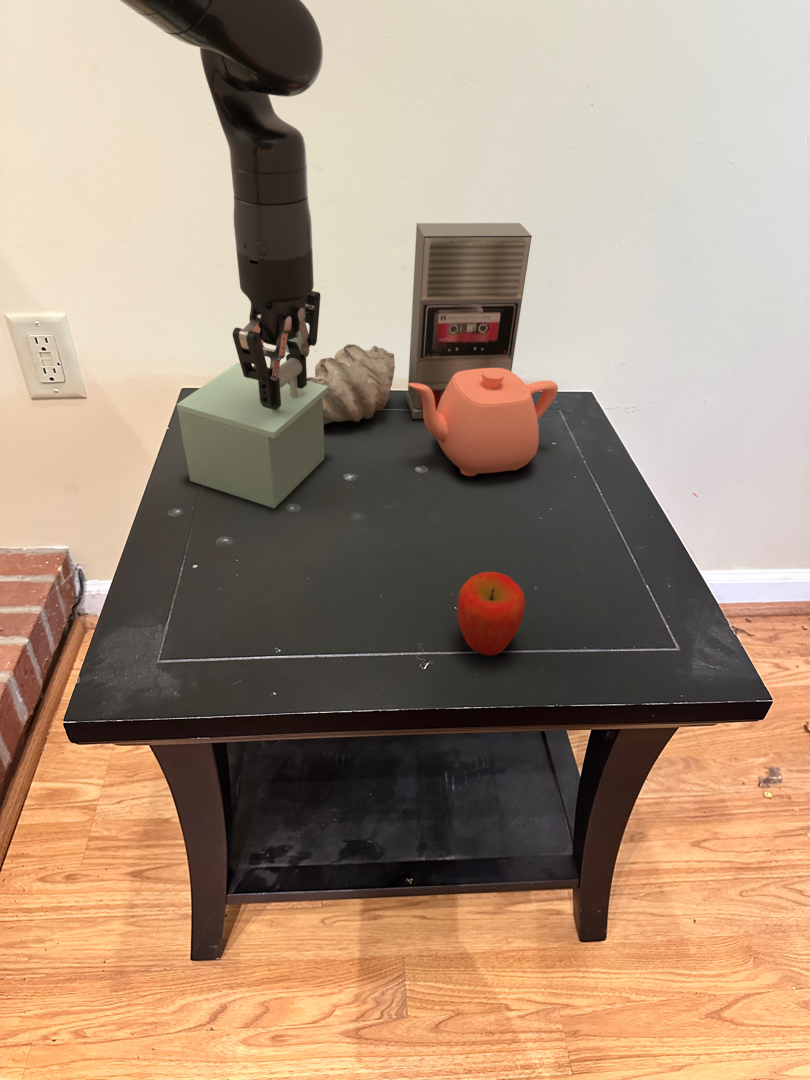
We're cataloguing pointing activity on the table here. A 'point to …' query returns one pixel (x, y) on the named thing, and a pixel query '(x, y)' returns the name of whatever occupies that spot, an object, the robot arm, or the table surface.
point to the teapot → (486, 419)
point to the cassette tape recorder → (464, 301)
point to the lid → (253, 400)
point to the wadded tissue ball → (355, 382)
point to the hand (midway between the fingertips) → (284, 395)
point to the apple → (490, 611)
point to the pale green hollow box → (253, 456)
